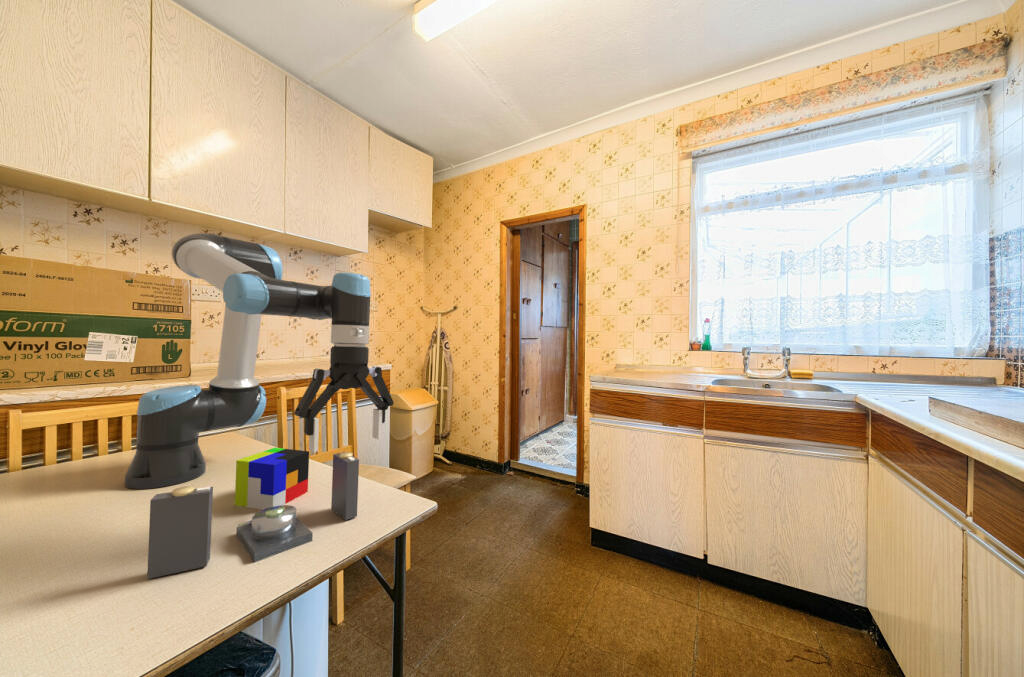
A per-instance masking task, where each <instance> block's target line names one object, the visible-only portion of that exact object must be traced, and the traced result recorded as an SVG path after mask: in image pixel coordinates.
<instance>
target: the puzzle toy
mask: <svg viewBox="0 0 1024 677" xmlns="http://www.w3.org/2000/svg"><path fill="white" fill-rule="evenodd" d="M235 464H236V465H235V467H236V468H235V489H234V506H239V507H246V508H250V509H252V508H253V509H259V510H264V509H267V508H270V507H274V506H281V505H287V504H288V503H290V502H292V501H294V500H296V499H298V498H299V497H301V496H303V495H304V494H306V492H307V493H309V468H310V450H308V451H307V450H302V449H301V450H299V449H292V448H291V449H290V448H282V447H281V448H280V447H272V448H270V449H266V450H264V451H260V452H257V453H255V454H252V455H249V456H245V457H243V458H239V459H237V460H236V463H235ZM295 498H296V499H295Z"/></svg>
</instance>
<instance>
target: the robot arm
mask: <svg viewBox="0 0 1024 677" xmlns="http://www.w3.org/2000/svg"><path fill="white" fill-rule="evenodd" d="M171 257H172V260H173V263H174V264H175V266H176V267H177V268H178V269H179V270H180V271H182V272H183V273H184V274H186V275H188V276H189V277H192V278H194V279H201V280H204V281H205V282H206V283H208V284H210V285H211V286H212V287H215V288H216V289H217V290H218V291H220V292H222V298H223V302H224V303H225V304H224V305H225V306H224V315H223V321H222V322H223V324H222V330H221V340H220V348H219V358H218V365H217V374H216V376H214V378H212V379H210V380H209V384H208V388H206V389H202V388H201V386H200V385H198V384H187V385H175V386H168V387H162V388H158V389H153V390H150V391H147V392H145V393H143V394H142V395H141V396H140V398H139V400H138V405H137V411H136V415H137V419H136V420H137V424H136V425H137V426H136V448H135V449H136V450H135V454H134V455H133V459H132V460H131V462H130V464H129V467H128V468H127V471H126V473H125V475H124V487H126V488H128V489H134V490H135V489H136V490H140V489H141V490H142V489H143V490H144V489H145V490H146V489H147V490H148V489H157V488H162V487H163V488H164V487H169V486H174V485H177V484H181V483H182V484H183V483H185V482H188V481H189V482H190V481H192V480H194V479H197V478H199V477H201V476H202V475H204V474H205V473H206V460H205V458H204V455H203V452H202V451H201V448H200V446H199V434H200V433H204V432H212V431H217V430H224V429H229V428H230V429H231V428H239V427H244V426H246V425H251V424H253V423H256V422H257V421H258V420H260V418H262V415H263V414H264V412H265V410H266V405H267V396H266V390H265V388H264V387H263V386H261V385H260V381H259V380H258V379H257V378H256V377H255V371H256V365H257V355H258V348H259V339H260V331H261V322H262V315H266V316H279V317H292V318H293V317H295V318H306V319H309V320H310V319H311V320H318V321H322V320H328V319H329V320H330V319H331V331H330V343H331V344H333V346H331V347H330V356H329V357H330V360H329V363H330V367H329V369H322V368H314V369H313V373H312V377H311V381H310V383H309V385H308V386H307V388H306V390H305V392H304V394H303V395H302V397H301V398H300V401H299V402H298V404H297V406H296V408H295V409H294V413H293V414H294V416H296V417H299V418H304V431H303V432H304V434H305V435H306V436H308V451H311V452H313V453H317V452H319V433H320V432H319V431H320V430H319V429H320V428H319V427H320V418H317V415H319V413H320V412H321V411H322V409H323V408H324V407H325V405H327V403H328V402H329V401H330V400H331V398H332V397H333V396H334V395H335V394H336V393H337V392H339V390H349V389H360V390H361V391H363V393H364V394H365V396H366V397H367V398H368V399H369V400H370V401H371V403H373V405H374V406H375V407H376V408H373V410H372V438H374V439H376V440H382V434H383V430H382V429H383V427H382V426H383V424H385V422H386V411H387V410H388V409H389V407H390V406H394V405H395V404H394V400H393V397H392V396H391V393H390V391H389V389H388V387H387V385H386V382H385V380H384V378H383V371H382V369H383V368H382V367H380V366H372V367H370V368H369V366H368V364H369V356H370V355H369V352H370V351H369V347H368V346H366V345H368V344H369V342H370V320H371V319H370V315H371V314H370V313H371V297H372V294H371V281H370V278H369V277H368V276H366V275H363V274H360V273H353V272H337V273H335V274H334V275H333V277H332V282H331V284H330V285H318V284H317V285H316V284H313V283H312V284H311V283H303V282H297V281H293V280H292V281H291V280H284V279H283V272H284V271H283V270H284V269H283V268H284V267H283V264H282V263H283V262H282V260H281V257H280V256H279V253H278V252H277V251H276V250H275V249H273V248H272V247H269V246H265V245H264V244H263V245H262V244H260V243H256V242H255V243H254V242H250V241H245V240H241V239H237V238H232V237H227V236H222V235H218V234H214V233H208V232H207V233H206V232H203V233H202V232H200V233H193V234H188V235H185V236H182V237H181V238H180V239H178V240H177V241H176V242H175V244H173V246H172V249H171ZM368 376H370V377H371V378H372V382H374V385H375V388H376V389H377V391H378V393H379V395H378V393H377V391H375V390H374V389H373V387H372V386H371V384H370V383H369V381H368V380H367V377H368ZM327 377H329V379H330V382H329V383H328V384H327V385H326V387H325V389H324V390H323V391H322V393H320V395H319V396H318V397H317V398H316V396H317V394H318V392H319V390H320V388H321V386H322V384H323V382H324V381H325V380H326V379H327ZM315 398H316V399H315ZM313 401H314V402H313Z"/></svg>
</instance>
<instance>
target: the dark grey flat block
mask: <svg viewBox="0 0 1024 677" xmlns="http://www.w3.org/2000/svg"><path fill="white" fill-rule="evenodd" d="M213 495H214V486H206V487H199V488H195V486H194V485H187V486H180V487H177V488H174V489H173V490H172V491H171V492H163V493H156V494H155V495H154V496H153V497H152V498H151V499H150V506H149V526H148V528H149V530H148V552H147V572H146V574H147V576H146V579H147V580H148V579H153V578H157V577H162V576H167V575H173V574H176V573H182V572H185V571H191V570H196V569H201V568H204V567H207V566H208V564H209V562H210V559H211V544H212V524H213V523H212V522H213V521H212V520H213V498H214V496H213Z"/></svg>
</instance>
